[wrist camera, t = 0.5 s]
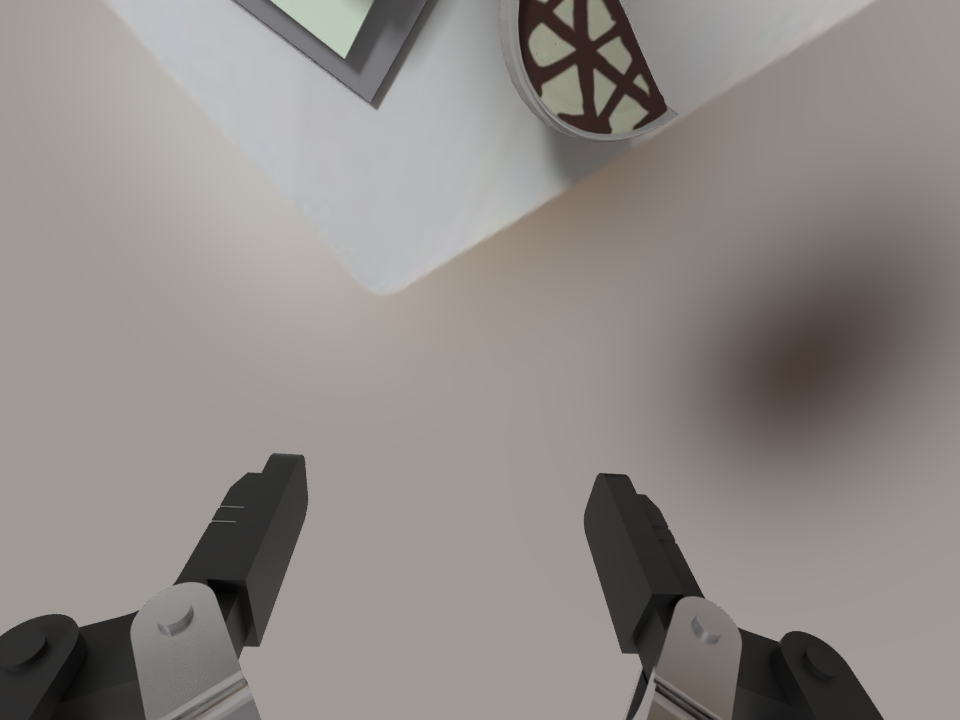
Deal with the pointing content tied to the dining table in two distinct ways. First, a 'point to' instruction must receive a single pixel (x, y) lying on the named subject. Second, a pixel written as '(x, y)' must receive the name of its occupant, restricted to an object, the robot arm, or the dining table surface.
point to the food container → (581, 68)
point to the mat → (369, 51)
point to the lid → (330, 19)
